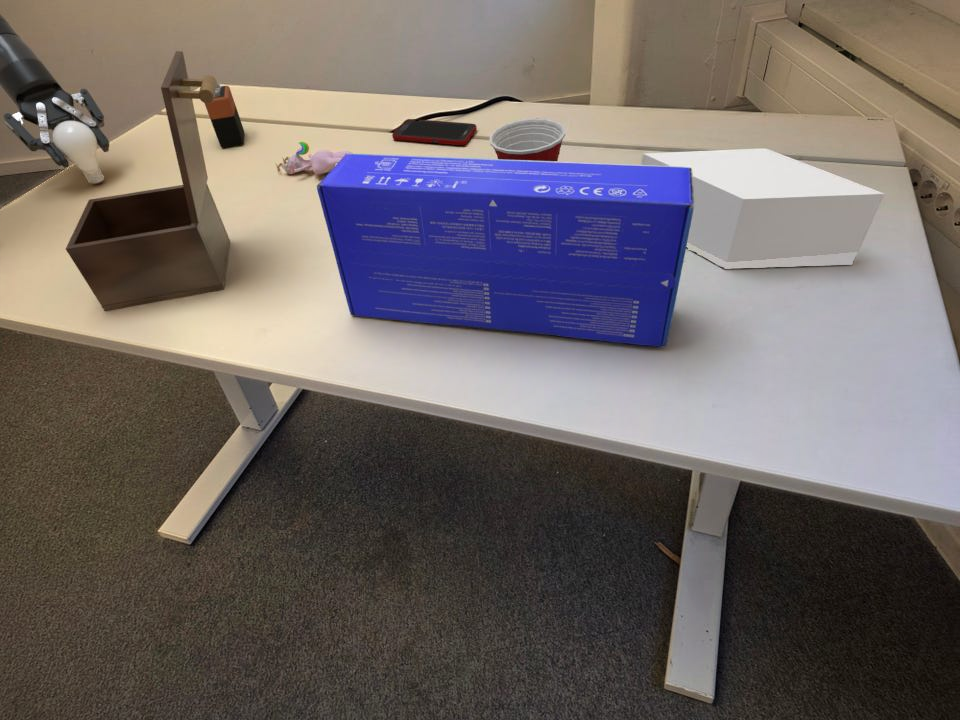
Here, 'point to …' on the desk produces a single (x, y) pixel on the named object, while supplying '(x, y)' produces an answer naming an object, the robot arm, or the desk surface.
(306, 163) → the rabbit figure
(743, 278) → the desk surface
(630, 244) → the blue cardboard box
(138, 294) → the chest
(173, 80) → the chest lid
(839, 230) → the white box
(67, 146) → the lightbulb
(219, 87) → the battery
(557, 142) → the plastic cup
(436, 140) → the cell phone
